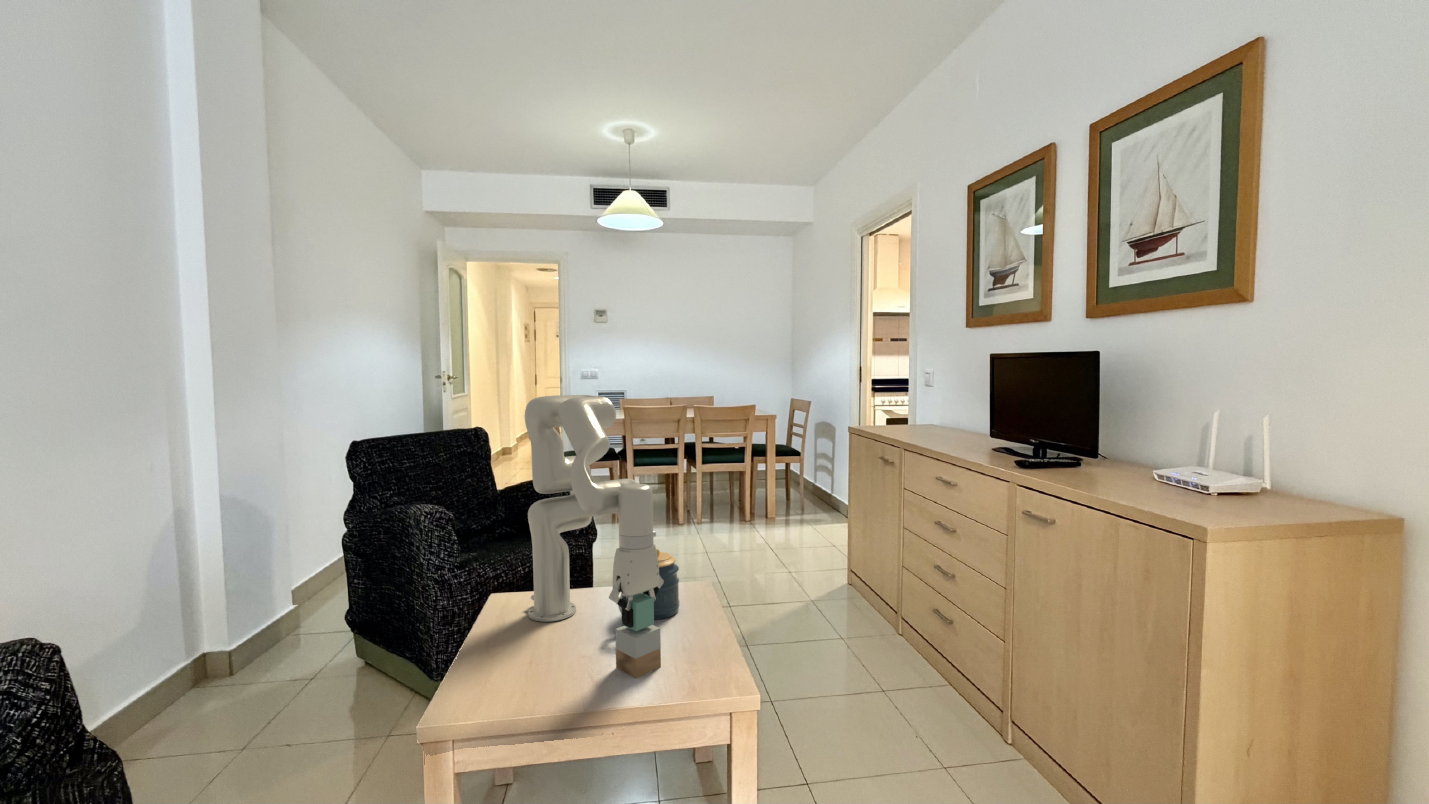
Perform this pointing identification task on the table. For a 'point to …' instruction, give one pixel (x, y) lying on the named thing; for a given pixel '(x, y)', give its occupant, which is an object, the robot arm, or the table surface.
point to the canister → (667, 587)
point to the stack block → (642, 611)
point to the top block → (638, 640)
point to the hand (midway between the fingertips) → (637, 621)
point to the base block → (638, 663)
